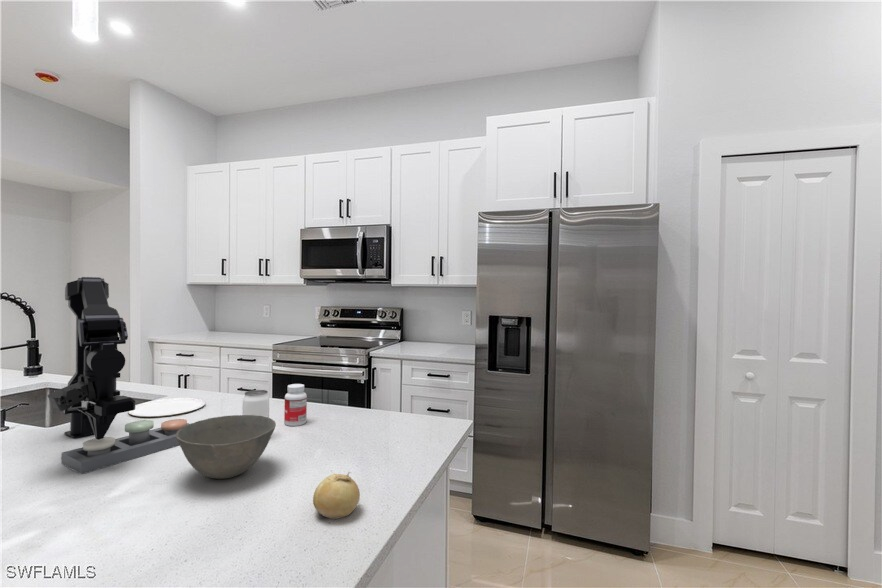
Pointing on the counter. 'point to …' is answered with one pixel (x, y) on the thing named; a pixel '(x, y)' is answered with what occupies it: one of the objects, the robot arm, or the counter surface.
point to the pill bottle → (295, 405)
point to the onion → (336, 496)
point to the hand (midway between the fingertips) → (99, 438)
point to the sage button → (139, 431)
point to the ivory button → (98, 446)
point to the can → (256, 403)
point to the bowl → (225, 443)
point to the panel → (118, 452)
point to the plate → (167, 407)
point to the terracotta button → (173, 426)
